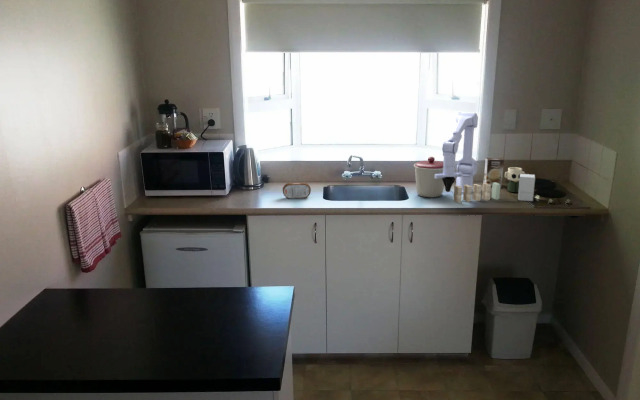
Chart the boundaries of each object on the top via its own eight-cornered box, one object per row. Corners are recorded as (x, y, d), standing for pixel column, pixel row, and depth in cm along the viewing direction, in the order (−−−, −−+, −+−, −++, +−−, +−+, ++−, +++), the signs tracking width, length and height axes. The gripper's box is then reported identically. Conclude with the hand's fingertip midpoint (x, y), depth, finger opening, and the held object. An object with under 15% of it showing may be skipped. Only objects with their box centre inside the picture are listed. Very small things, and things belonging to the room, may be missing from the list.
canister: (423, 201, 268) (424, 161, 263) (406, 192, 285) (407, 155, 279) (453, 197, 274) (455, 158, 268) (435, 189, 290) (437, 152, 285)
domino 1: (453, 200, 269) (454, 185, 267) (456, 200, 269) (457, 185, 267) (457, 202, 265) (458, 187, 263) (461, 202, 265) (462, 187, 263)
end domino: (491, 197, 274) (492, 182, 272) (494, 197, 275) (496, 182, 272) (495, 199, 270) (496, 184, 268) (499, 199, 270) (500, 184, 268)
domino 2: (462, 199, 270) (463, 184, 268) (466, 199, 271) (467, 184, 268) (467, 202, 266) (468, 186, 264) (470, 201, 266) (471, 186, 264)
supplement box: (532, 197, 272) (535, 174, 269) (532, 201, 265) (535, 177, 262) (517, 196, 275) (520, 173, 271) (517, 200, 268) (519, 176, 265)
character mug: (505, 193, 281) (508, 170, 277) (500, 190, 288) (502, 167, 284) (525, 193, 282) (527, 169, 278) (520, 189, 288) (522, 166, 285)
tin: (310, 197, 279) (310, 181, 277) (311, 198, 276) (310, 183, 274) (282, 197, 278) (282, 182, 276) (282, 199, 275) (282, 184, 273)
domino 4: (481, 198, 273) (482, 183, 271) (485, 197, 273) (486, 183, 271) (486, 200, 269) (487, 185, 266) (489, 200, 269) (490, 185, 267)
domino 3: (472, 198, 271) (473, 184, 269) (475, 198, 272) (476, 183, 270) (476, 201, 267) (477, 186, 265) (480, 200, 268) (481, 185, 266)
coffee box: (485, 187, 294) (487, 159, 290) (483, 184, 300) (485, 157, 296) (501, 187, 293) (504, 159, 289) (499, 184, 299) (501, 157, 295)
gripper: (439, 167, 255) (438, 194, 259) (466, 165, 258) (464, 192, 262) (433, 164, 261) (431, 190, 265) (459, 163, 265) (457, 188, 269)
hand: (447, 191), depth 264 cm, fingers closed
